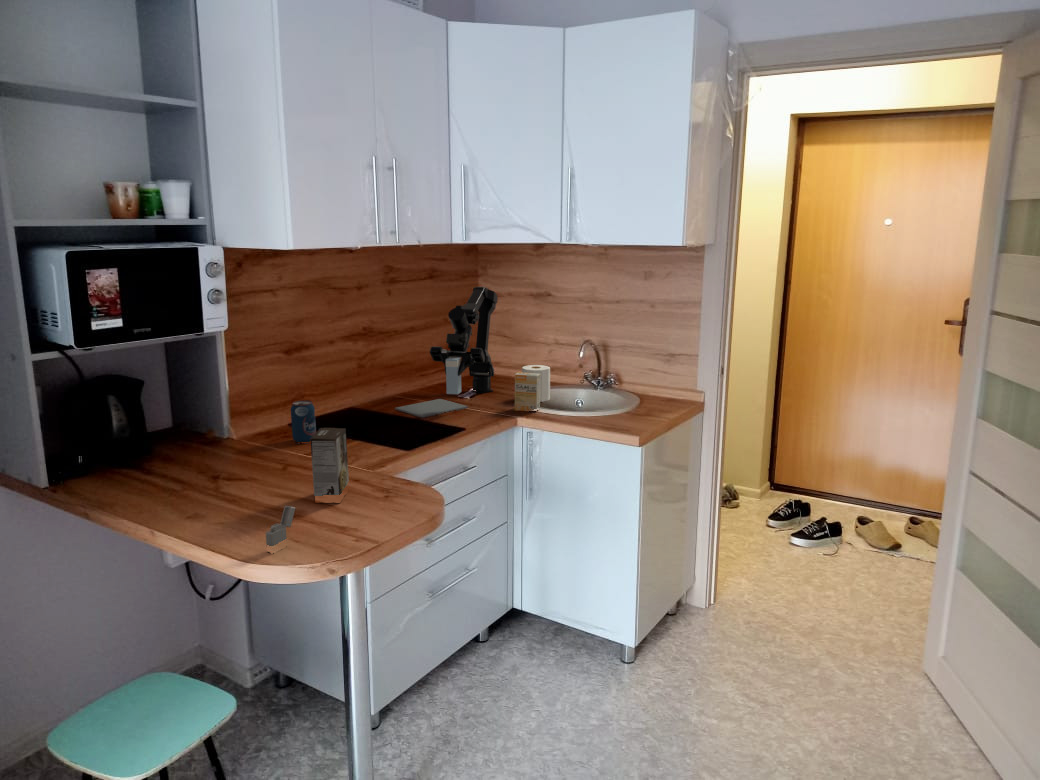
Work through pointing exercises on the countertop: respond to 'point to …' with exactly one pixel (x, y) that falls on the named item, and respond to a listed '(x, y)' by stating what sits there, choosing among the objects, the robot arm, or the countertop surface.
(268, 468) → the countertop surface
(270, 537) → the lighter
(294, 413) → the soda can
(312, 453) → the coffee box
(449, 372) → the blue block
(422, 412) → the grey mat
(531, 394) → the supplement box
